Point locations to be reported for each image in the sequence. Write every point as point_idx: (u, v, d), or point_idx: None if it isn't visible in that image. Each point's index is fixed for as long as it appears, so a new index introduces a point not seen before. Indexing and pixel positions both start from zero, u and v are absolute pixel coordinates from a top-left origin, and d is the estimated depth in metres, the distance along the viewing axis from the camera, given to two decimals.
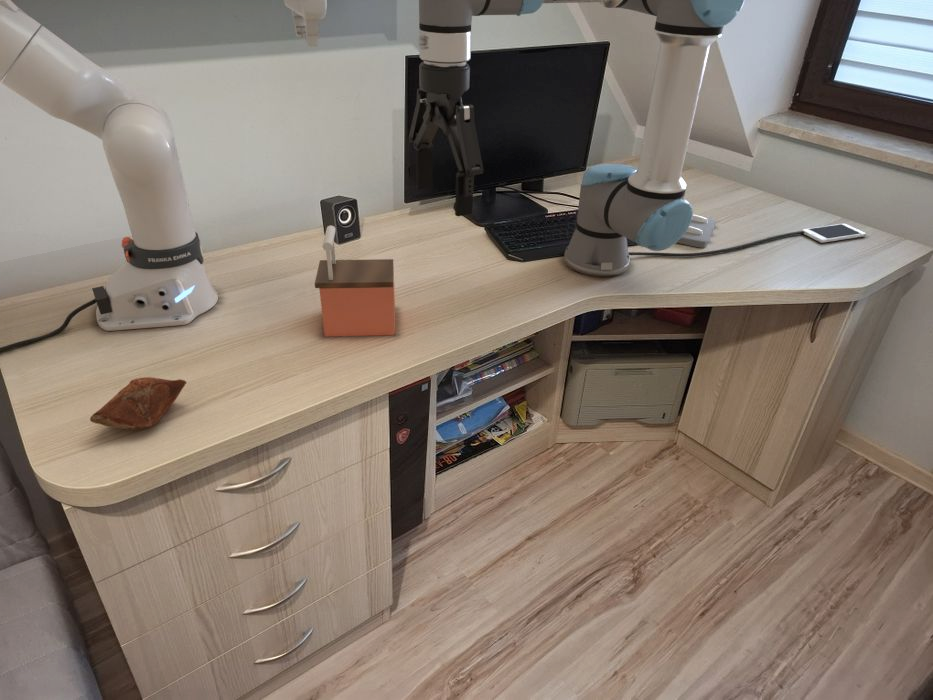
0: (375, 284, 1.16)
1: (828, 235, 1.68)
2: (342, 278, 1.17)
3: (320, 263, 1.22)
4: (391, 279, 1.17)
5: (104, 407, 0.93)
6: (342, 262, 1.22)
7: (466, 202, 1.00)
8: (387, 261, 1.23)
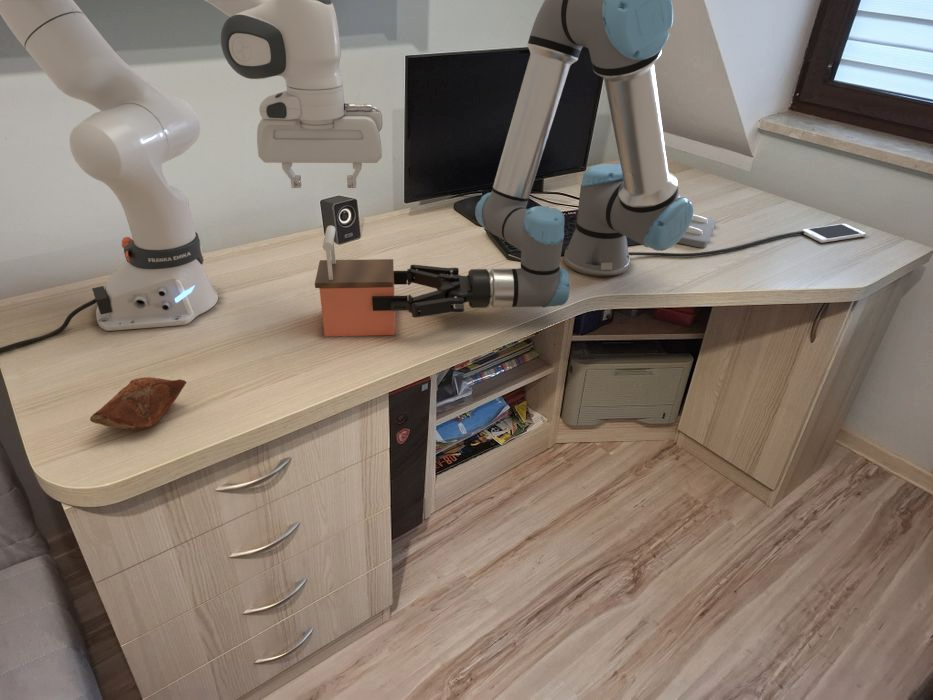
0: (375, 284, 1.16)
1: (828, 235, 1.68)
2: (342, 278, 1.17)
3: (320, 263, 1.22)
4: (391, 279, 1.17)
5: (104, 407, 0.93)
6: (342, 262, 1.22)
7: None
8: (387, 261, 1.23)
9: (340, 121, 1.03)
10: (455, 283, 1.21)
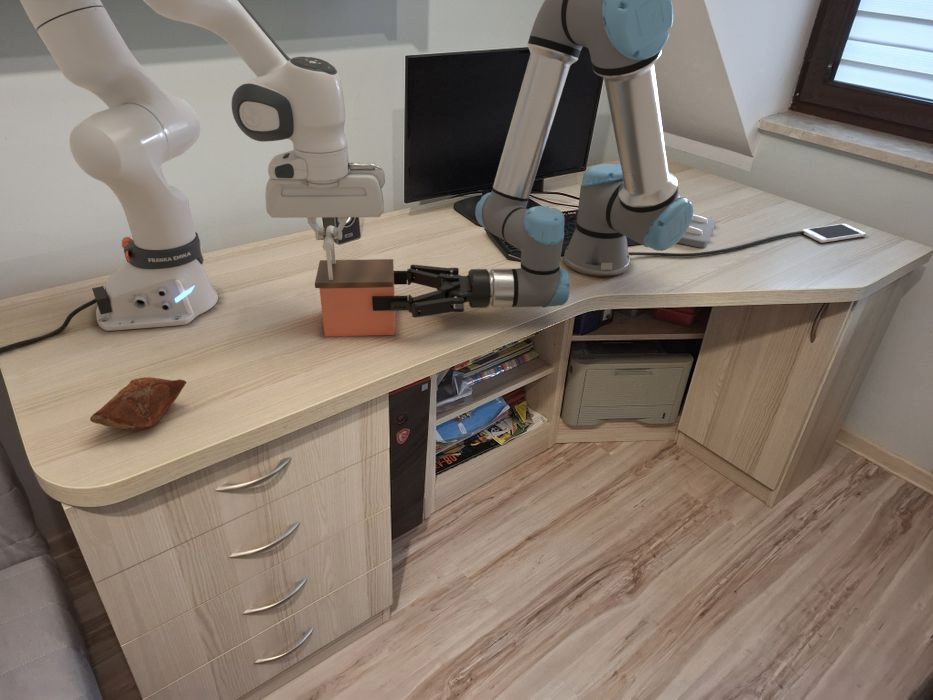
0: (375, 284, 1.16)
1: (828, 235, 1.68)
2: (342, 278, 1.17)
3: (320, 263, 1.22)
4: (391, 279, 1.17)
5: (104, 407, 0.93)
6: (342, 262, 1.22)
7: None
8: (387, 261, 1.23)
9: (344, 179, 1.08)
10: (455, 283, 1.21)
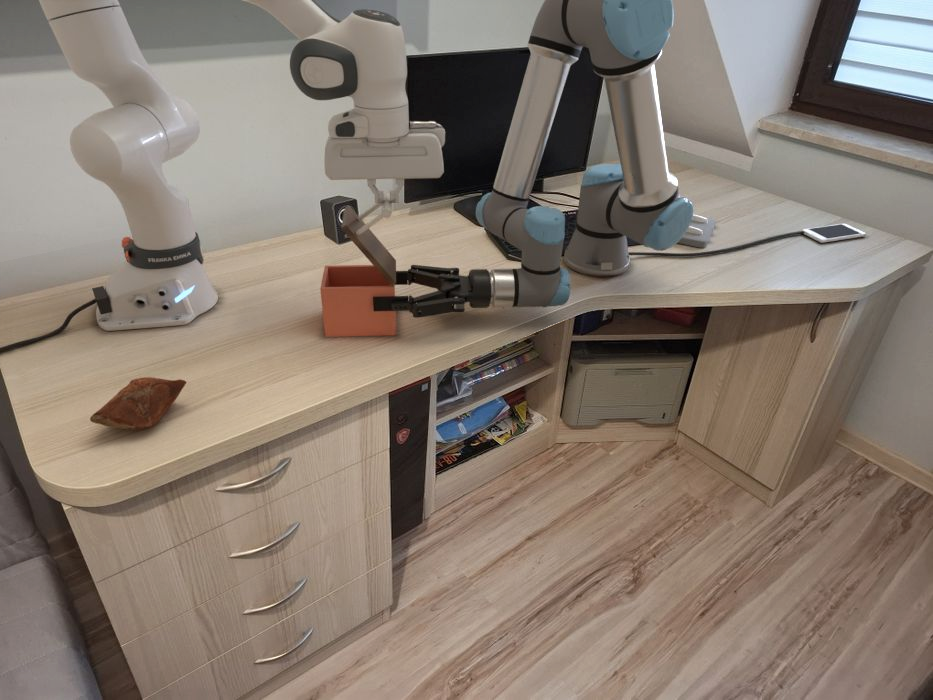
0: (383, 271, 1.15)
1: (828, 235, 1.68)
2: (364, 242, 1.13)
3: (349, 208, 1.16)
4: (395, 279, 1.17)
5: (104, 407, 0.93)
6: (364, 225, 1.18)
7: None
8: (392, 257, 1.23)
9: (405, 138, 1.05)
10: (456, 283, 1.21)
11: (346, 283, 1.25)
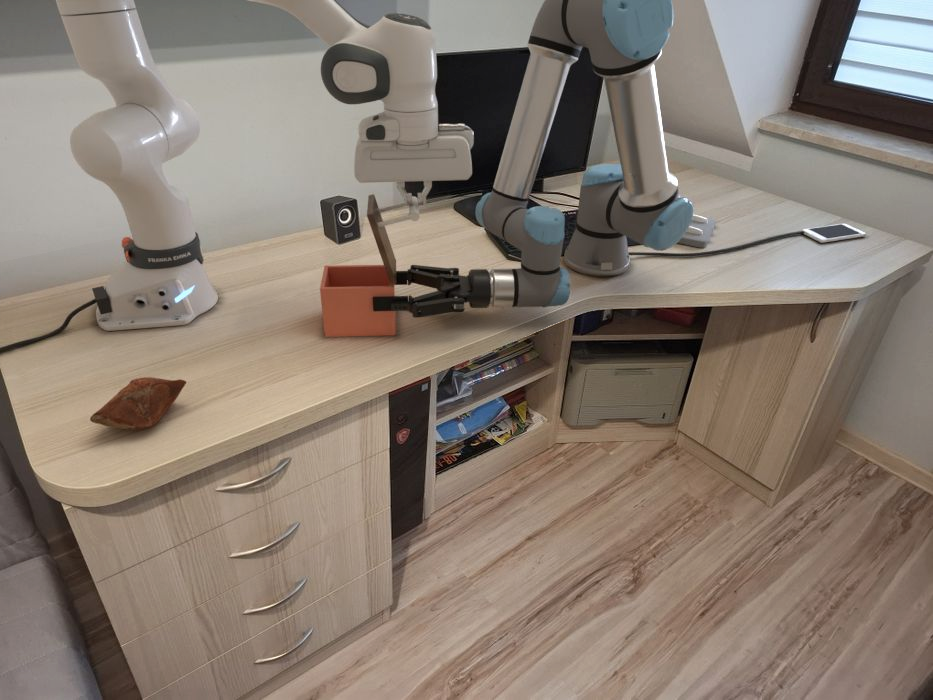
0: (388, 269, 1.15)
1: (828, 235, 1.68)
2: (381, 235, 1.13)
3: (374, 198, 1.15)
4: None
5: (104, 407, 0.93)
6: (381, 218, 1.18)
7: None
8: (394, 257, 1.23)
9: (435, 141, 1.06)
10: (455, 283, 1.21)
11: (346, 283, 1.25)
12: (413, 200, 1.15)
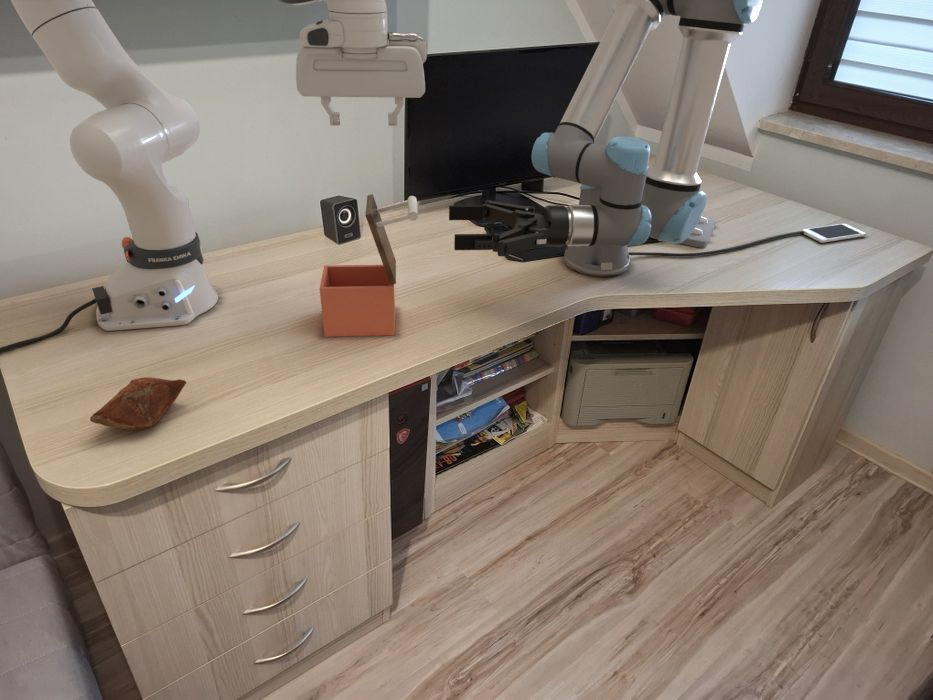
0: (388, 269, 1.15)
1: (828, 235, 1.68)
2: (380, 235, 1.13)
3: (372, 198, 1.15)
4: (395, 280, 1.17)
5: (104, 407, 0.93)
6: (380, 218, 1.18)
7: None
8: (394, 257, 1.23)
9: (383, 51, 0.98)
10: (532, 219, 1.16)
11: (346, 283, 1.25)
12: (412, 200, 1.15)
